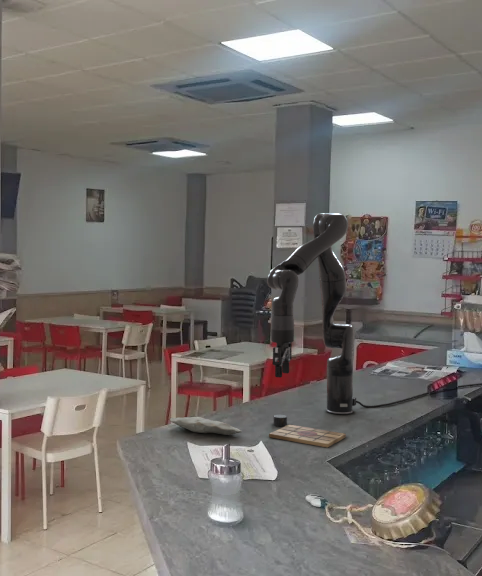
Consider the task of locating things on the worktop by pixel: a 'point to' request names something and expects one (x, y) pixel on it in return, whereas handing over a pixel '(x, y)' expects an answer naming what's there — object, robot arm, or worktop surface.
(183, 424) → the stone tool replica
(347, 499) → the worktop surface
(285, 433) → the grid board
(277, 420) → the dark grey short cylinder
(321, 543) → the worktop surface
